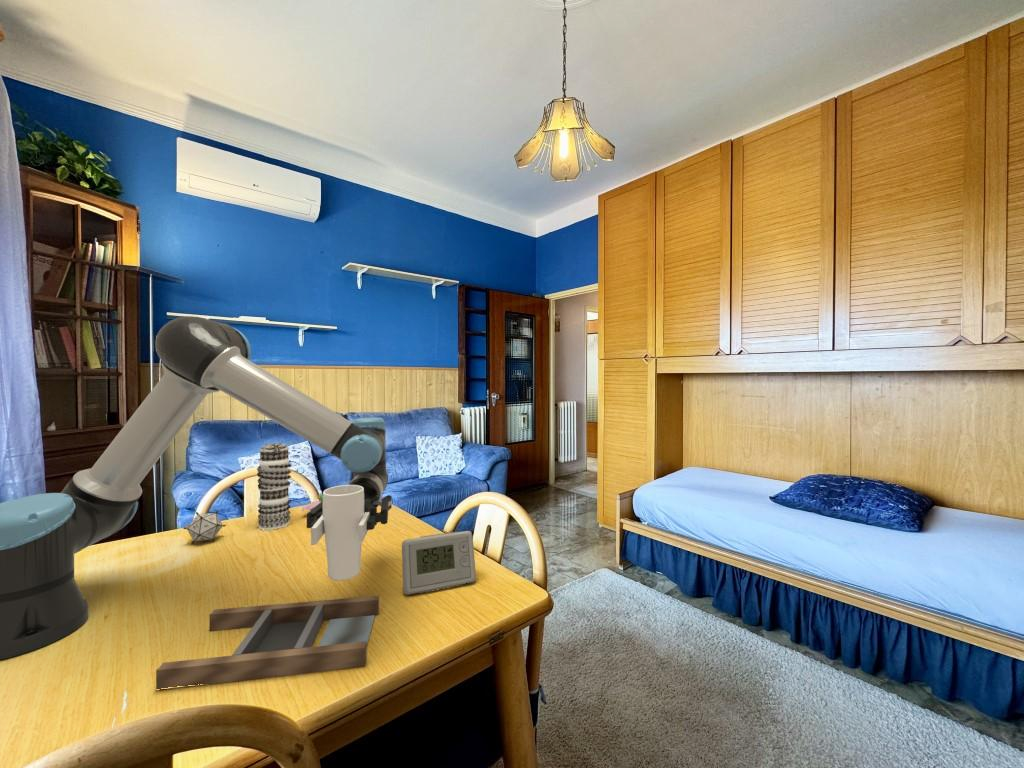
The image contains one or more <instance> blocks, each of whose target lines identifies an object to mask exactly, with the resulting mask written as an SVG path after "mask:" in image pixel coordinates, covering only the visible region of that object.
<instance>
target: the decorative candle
mask: <svg viewBox="0 0 1024 768" xmlns="http://www.w3.org/2000/svg"><path fill="white" fill-rule="evenodd" d="M289 449H290V447H287V445H286V444H285V443H283V442H282V443H281V442H272V443H266V444H264V445H263V446H262V447H261V448H260V449H258V452H259V457H260V459H259V460H258V461H259V466H258V467H257V468H256V471H257V473H256V475H257V477H258V479H257V483H258V484H257V489H258V490H259V492H260V493H259V495H260V496H259V503H258V504H257V507H258V508H259V509H257V511H258V515H257V519H258V521H257V524H258V530H261V529H264V530H263V531H272V530H271V529H275V530H278V529H277V528H280V529H283V528H286V527H287V525H288V524H289V523H290V524H291V521H290V520H291V516H290V514H291V510H290V508H291V506H290V503H291V499H290V494H289V487H290V486H291V481H289V479H291V478H292V476H291V475H290V474H291V473H292V470H290V469H289V468H291V467H292V464H291V462H292V460H290V457H289ZM290 524H289V525H290ZM289 525H288V526H289ZM285 526H286V527H285ZM282 527H283V528H282Z"/></svg>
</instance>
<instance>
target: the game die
mask: <svg viewBox="0 0 1024 768" xmlns="http://www.w3.org/2000/svg"><path fill="white" fill-rule="evenodd" d="M218 513H219V509H218V510H216V511H215V512H211V513H207V512H206V513H199V512H198V511H196V512H195V514H196V516H195V517H194V518H193V519H192V521H191V522H190V523H189V525H188V526H185V527H183V528H182V529H183V530H187V531H188V533H189V535H190V537H191V539H192V542H191V545H193V544H195V542H202V541H203V542H204V541H212V542H213V543H215V541H216V540H215V537H217V534H218V533H219V532H220V531H221V529H222V528H223V527H226V526H227V525H226V524H223V522H222V520H221V519H220V517H219V515H218Z"/></svg>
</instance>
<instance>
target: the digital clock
mask: <svg viewBox="0 0 1024 768" xmlns="http://www.w3.org/2000/svg"><path fill="white" fill-rule="evenodd" d="M474 548H475V547H474V538H473V532H471V531H470V530H465V531H457V532H455V531H452V532H451V531H450V532H445V533H437V534H430V535H424V536H420V537H414V538H407V539H404V540H402V542H401V561H402V562H401V565H402V589H403V593H404V595H413V594H415V595H416V594H418V593H420V594H424V593H423V592H426V593H428V592H427V591H431V592H433V591H432V590H436V591H438V590H437V589H441V590H444V589H443V588H446V589H448V588H447V587H451V588H454V587H453V586H457V585H461V586H462V585H465V584H466V583H467V584H471V583H474V582H475V581H476V579H477V571H476V562H475V549H474ZM457 587H458V586H457Z"/></svg>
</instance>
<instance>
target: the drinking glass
mask: <svg viewBox="0 0 1024 768" xmlns="http://www.w3.org/2000/svg"><path fill="white" fill-rule="evenodd" d="M322 497H323V504H322V510H323V525H324V534H323V535H324V542H325V544H324V545H325V553H326V562H327V563H326V564H327V576H328V579H330V580H332V581H336V582H343V581H348V580H351V579H353V578H355V577H357V575H359V573H360V571H361V567H362V566H361V565H362V563H361V562H362V561H361V560H362V559H361V557H362V547H363V546H362V545H363V544H362V543H363V542H358V525H359V523H360V521H361V519H362V518H363V516H364V488H363V487H362V486H359V485H348V484H341V485H335V486H332V487H329V488H326V489H324V490H323V492H322Z"/></svg>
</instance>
